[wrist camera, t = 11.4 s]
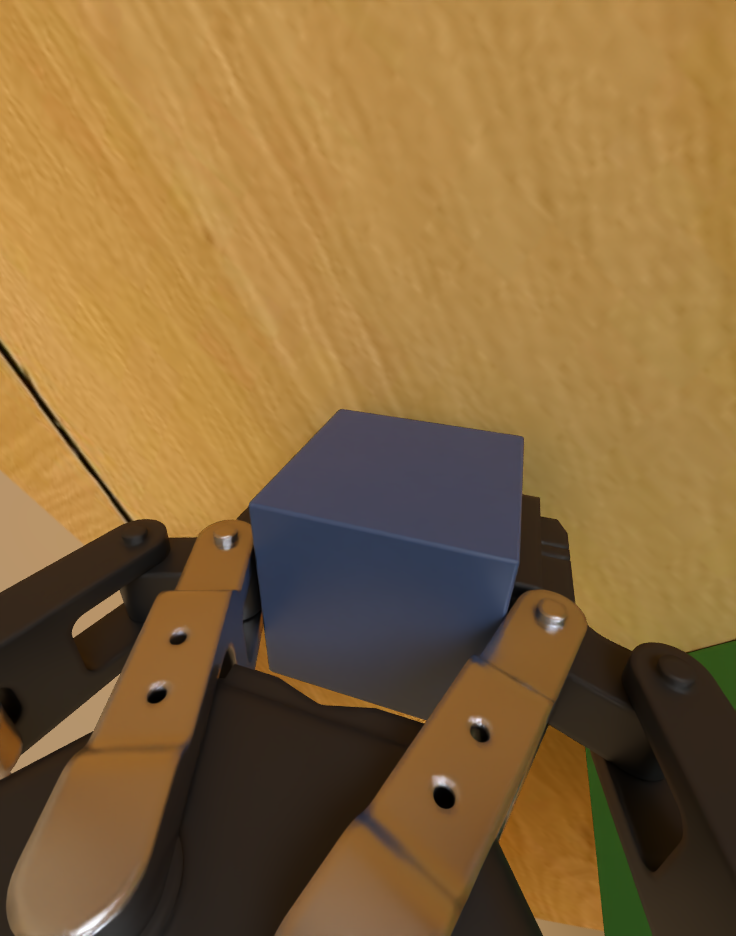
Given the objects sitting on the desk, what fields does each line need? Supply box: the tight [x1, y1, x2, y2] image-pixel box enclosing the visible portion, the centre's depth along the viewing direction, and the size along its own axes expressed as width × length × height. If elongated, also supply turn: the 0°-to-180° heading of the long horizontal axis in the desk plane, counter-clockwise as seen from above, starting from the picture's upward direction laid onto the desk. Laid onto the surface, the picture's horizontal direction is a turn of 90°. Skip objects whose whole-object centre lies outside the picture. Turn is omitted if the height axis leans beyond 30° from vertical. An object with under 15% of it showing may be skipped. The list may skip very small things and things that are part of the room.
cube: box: [249, 409, 524, 720], centre depth 11 cm, size 5×5×5 cm
